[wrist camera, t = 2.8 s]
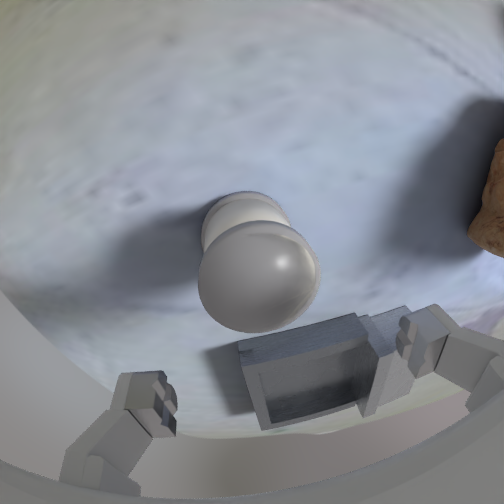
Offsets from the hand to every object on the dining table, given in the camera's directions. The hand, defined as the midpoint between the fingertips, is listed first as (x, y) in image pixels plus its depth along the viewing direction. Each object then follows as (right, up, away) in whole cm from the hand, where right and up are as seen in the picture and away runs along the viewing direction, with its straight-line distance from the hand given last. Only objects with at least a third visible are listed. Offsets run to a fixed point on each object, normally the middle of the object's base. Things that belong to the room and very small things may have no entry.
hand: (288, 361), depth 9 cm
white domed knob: (-1, +5, +8) cm, 9 cm away
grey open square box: (+5, -6, +14) cm, 16 cm away
